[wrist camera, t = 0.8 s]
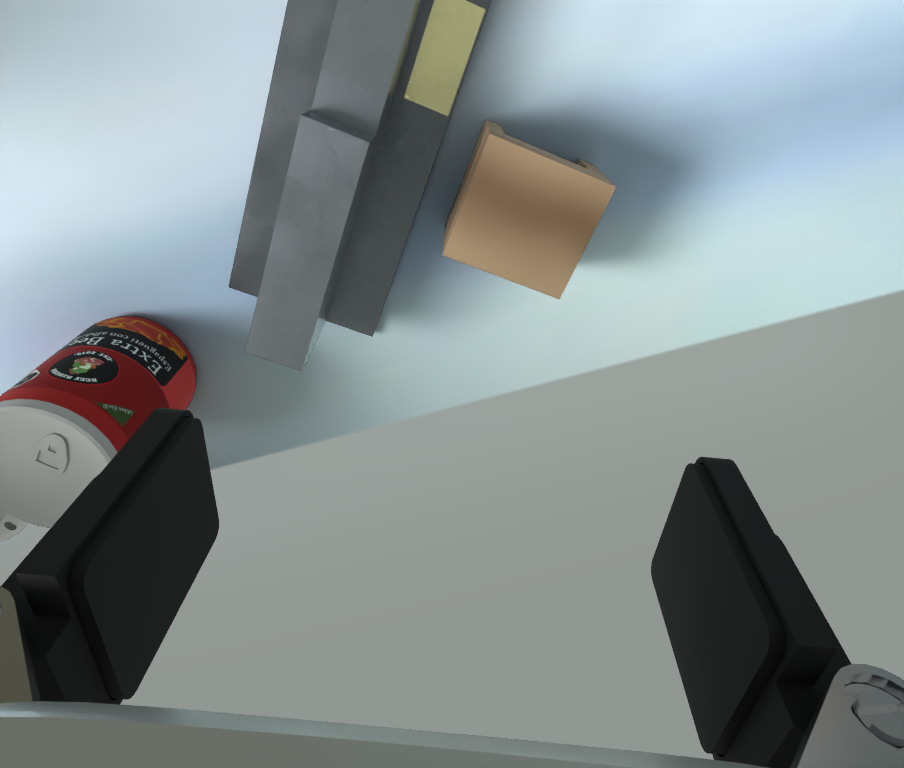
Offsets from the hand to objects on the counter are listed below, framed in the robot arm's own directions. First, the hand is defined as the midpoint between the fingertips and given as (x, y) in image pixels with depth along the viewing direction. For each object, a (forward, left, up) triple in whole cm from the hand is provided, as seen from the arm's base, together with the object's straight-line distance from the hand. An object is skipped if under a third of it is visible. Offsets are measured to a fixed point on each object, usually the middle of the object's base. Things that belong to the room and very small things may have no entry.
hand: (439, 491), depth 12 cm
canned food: (-18, +15, -25) cm, 34 cm away
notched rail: (+2, +6, -25) cm, 26 cm away
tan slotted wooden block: (+1, -3, -25) cm, 26 cm away
